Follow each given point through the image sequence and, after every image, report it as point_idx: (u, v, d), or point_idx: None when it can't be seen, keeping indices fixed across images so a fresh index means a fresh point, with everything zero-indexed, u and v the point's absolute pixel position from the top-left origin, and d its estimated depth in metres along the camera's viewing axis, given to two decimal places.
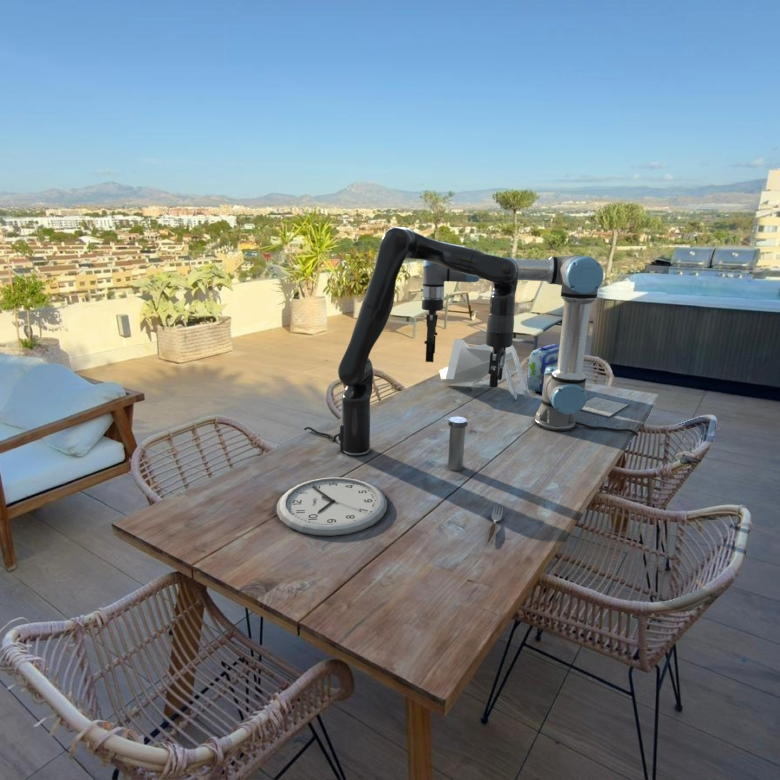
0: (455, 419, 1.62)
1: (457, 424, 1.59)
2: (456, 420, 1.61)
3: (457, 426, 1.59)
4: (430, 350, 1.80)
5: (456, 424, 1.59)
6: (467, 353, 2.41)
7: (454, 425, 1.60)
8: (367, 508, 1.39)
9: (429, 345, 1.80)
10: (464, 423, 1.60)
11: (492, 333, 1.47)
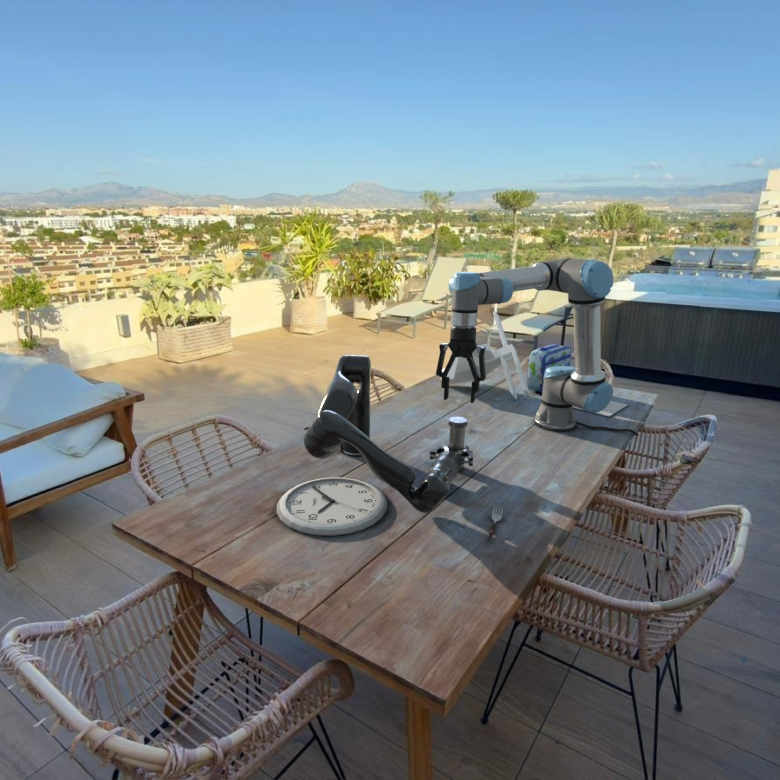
0: (455, 419, 1.62)
1: (457, 424, 1.59)
2: (456, 420, 1.61)
3: (457, 426, 1.59)
4: None
5: (456, 424, 1.59)
6: None
7: (454, 425, 1.60)
8: (367, 508, 1.39)
9: None
10: (464, 423, 1.60)
11: None
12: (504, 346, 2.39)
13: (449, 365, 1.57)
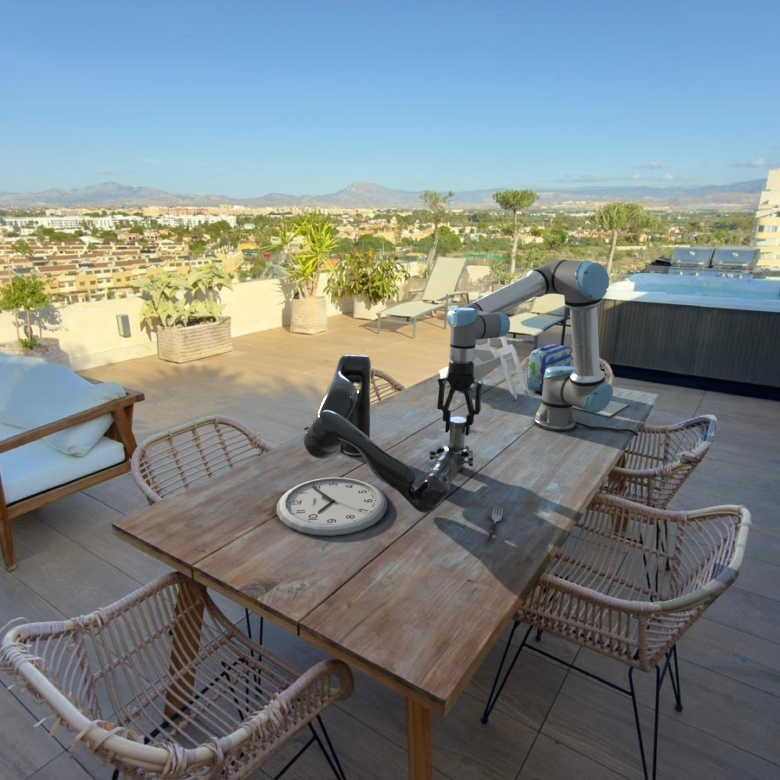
0: (455, 419, 1.62)
1: (457, 424, 1.59)
2: (456, 420, 1.61)
3: (457, 426, 1.59)
4: None
5: (456, 424, 1.59)
6: None
7: (454, 425, 1.60)
8: (367, 508, 1.39)
9: None
10: (464, 423, 1.60)
11: None
12: (504, 346, 2.39)
13: (449, 399, 1.60)
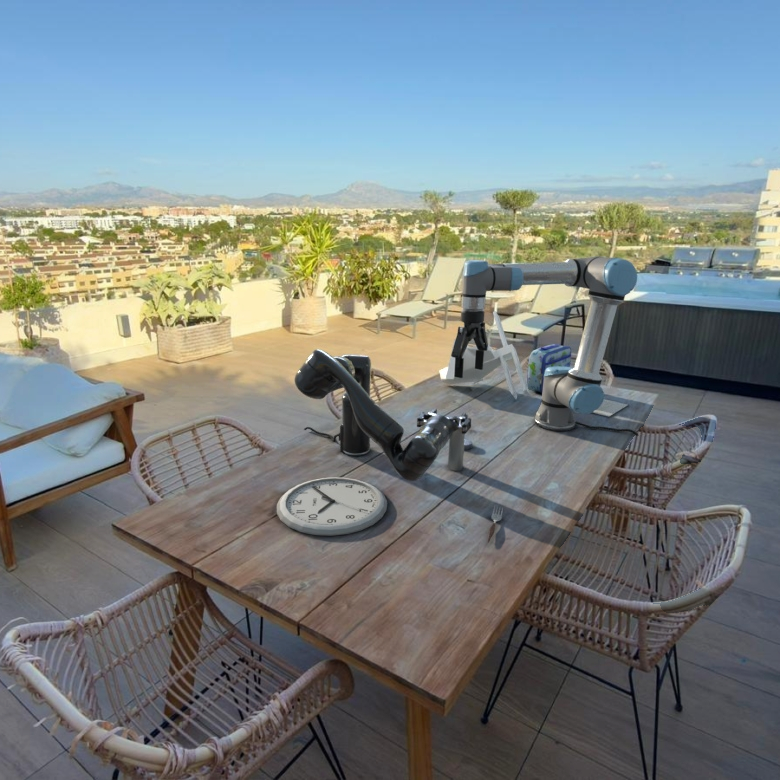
0: (466, 442, 1.82)
1: None
2: (466, 441, 1.83)
3: None
4: (457, 365, 1.67)
5: None
6: (467, 353, 2.41)
7: None
8: (367, 508, 1.39)
9: (456, 359, 1.67)
10: None
11: None
12: (504, 346, 2.39)
13: (466, 346, 1.68)
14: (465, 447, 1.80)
